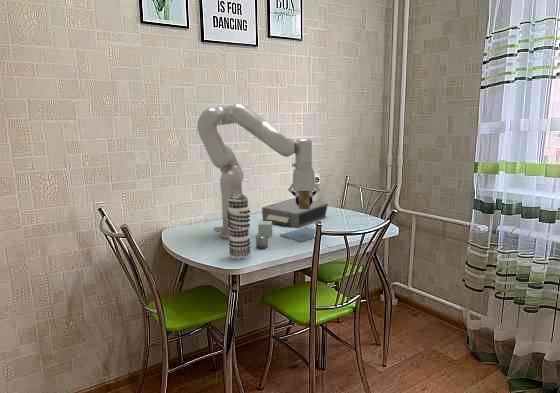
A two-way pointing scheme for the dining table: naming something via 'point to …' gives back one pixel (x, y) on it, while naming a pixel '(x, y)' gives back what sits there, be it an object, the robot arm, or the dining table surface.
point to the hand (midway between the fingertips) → (304, 204)
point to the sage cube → (265, 228)
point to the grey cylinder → (261, 241)
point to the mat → (300, 234)
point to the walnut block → (304, 199)
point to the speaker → (293, 213)
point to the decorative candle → (239, 226)
